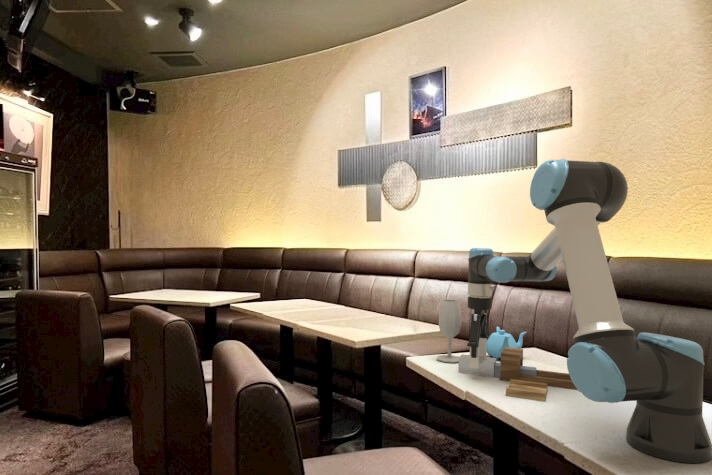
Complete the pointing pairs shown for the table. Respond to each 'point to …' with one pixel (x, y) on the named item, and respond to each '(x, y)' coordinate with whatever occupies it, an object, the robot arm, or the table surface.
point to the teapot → (501, 342)
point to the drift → (523, 370)
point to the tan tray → (527, 390)
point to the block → (484, 366)
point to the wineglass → (449, 325)
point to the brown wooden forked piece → (511, 370)
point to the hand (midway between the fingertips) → (478, 362)
